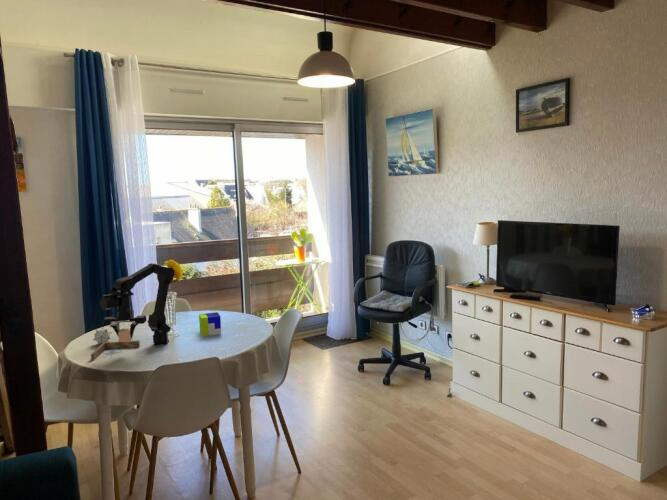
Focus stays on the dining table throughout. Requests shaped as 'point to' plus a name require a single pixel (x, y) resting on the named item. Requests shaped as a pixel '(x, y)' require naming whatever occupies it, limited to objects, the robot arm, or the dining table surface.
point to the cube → (124, 335)
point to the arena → (113, 345)
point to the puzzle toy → (210, 324)
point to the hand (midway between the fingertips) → (125, 337)
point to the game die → (102, 336)
